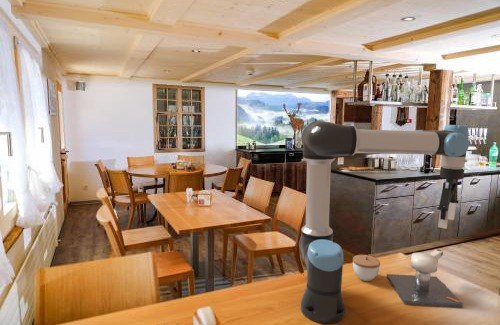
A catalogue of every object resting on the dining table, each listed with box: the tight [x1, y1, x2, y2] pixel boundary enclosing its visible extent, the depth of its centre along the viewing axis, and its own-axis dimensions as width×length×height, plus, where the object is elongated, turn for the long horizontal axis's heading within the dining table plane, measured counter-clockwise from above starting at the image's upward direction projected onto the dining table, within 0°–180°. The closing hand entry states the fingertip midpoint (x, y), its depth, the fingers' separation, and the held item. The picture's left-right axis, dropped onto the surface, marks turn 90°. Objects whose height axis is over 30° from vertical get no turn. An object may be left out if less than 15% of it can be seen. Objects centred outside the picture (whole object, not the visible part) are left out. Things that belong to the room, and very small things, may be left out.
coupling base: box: [386, 270, 464, 308], centre depth 129 cm, size 20×20×10 cm
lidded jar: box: [352, 254, 381, 282], centre depth 140 cm, size 11×11×9 cm
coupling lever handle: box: [410, 249, 444, 274], centre depth 132 cm, size 20×9×4 cm, turn 130°
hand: (446, 223), depth 126 cm, fingers open, 13 cm apart
